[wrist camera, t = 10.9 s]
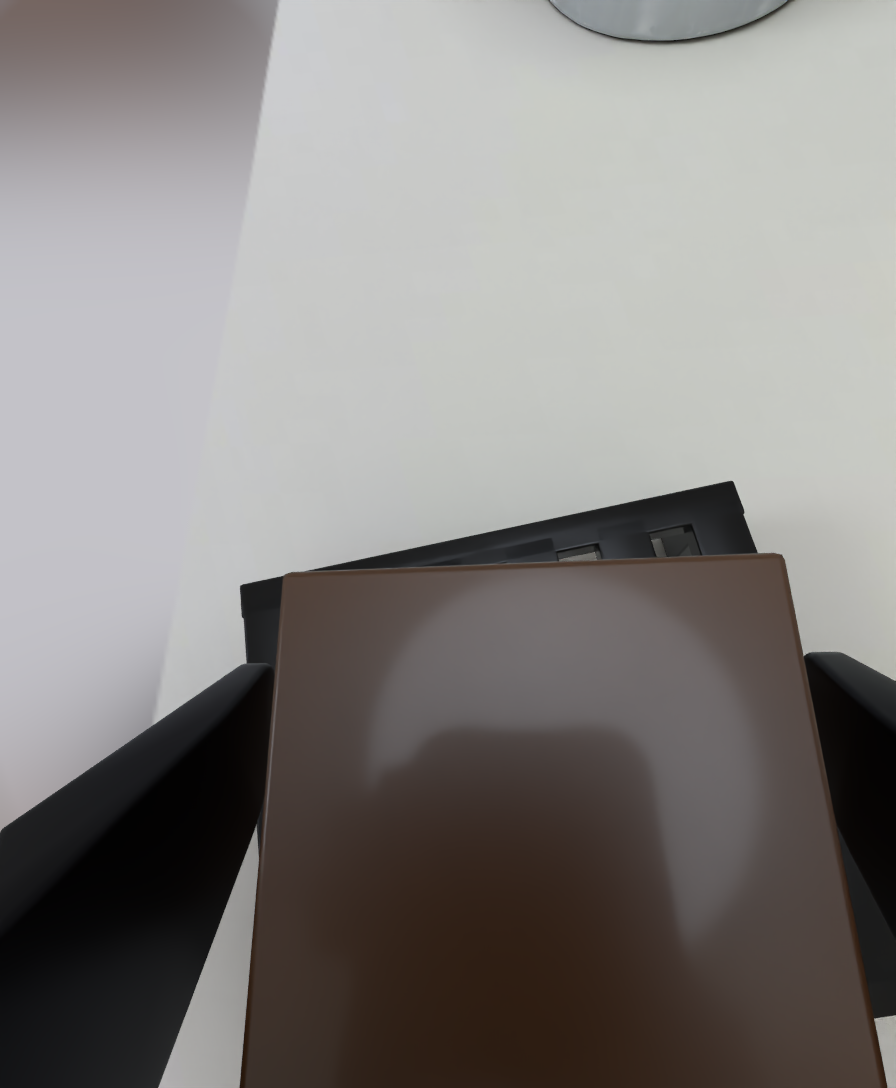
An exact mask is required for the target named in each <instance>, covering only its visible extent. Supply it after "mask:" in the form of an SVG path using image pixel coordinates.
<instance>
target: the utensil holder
mask: <svg viewBox="0 0 896 1088" xmlns="http://www.w3.org/2000/svg"><path fill="white" fill-rule="evenodd" d="M550 1H551V2H552V3H553V5H554V6H556V7H557V8H558V9H559V10H560V11H561V12H562V13H563V14H564V15H566V16H567V17H569V18H570V19H571V20H573V21H574V22H576V23H578V24H580V25H581V26H583V27H586V28H588V29H591V30H594V31H597V32H600V33H603V34H606V35H610V36H614V37H619V38H627V39H638V40H680V39H689V38H695V37H701V36H707V35H712V34H716V33H720V32H724V31H727V30H730V29H733V28H736V27H739V26H742V25H744V24H747V23H749V22H751V21H754V20H756V19H758V18H760V17H762V16H764V15H766V14H768V13H770V12H771V11H773V10H775V9H777V8H778V7H780V6H781V5H783V4H784V3H785V2H787V1H788V0H550Z"/></svg>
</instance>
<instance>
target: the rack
mask: <svg viewBox="0 0 896 1088" xmlns="http://www.w3.org/2000/svg"><path fill="white" fill-rule="evenodd" d="M743 514H744V509H743V506H742V504H741V501H740V498H739V496H738V493H737V490H736V488H735V485H734V482H733V481H727V482H723V483H718V484H713V485H709V486H704V487H699V488H695V489H690V490H685V491H680V492H676V493H671V494H666V495H662V496H657V497H652V498H648V499H643V500H638V501H633V502H629V503H624V504H619V505H615V506H610V507H605V508H600V509H596V510H591V511H586V512H582V513H577V514H572V515H568V516H563V517H558V518H553V519H549V520H544V521H539V522H535V523H530V524H525V525H521V526H516V527H511V528H506V529H502V530H497V531H492V532H488V533H483V534H478V535H474V536H469V537H464V538H459V539H455V540H450V541H445V542H441V543H436V544H431V545H426V546H422V547H417V548H412V549H408V550H403V551H398V552H394V553H389V554H384V555H379V556H375V557H370V558H365V559H361V560H356V561H351V562H347V563H342V564H337V565H332V566H328V567H323V568H318V569H314V570H309V571H332V570H357V569H382V568H407V567H432V566H457V565H482V564H506V563H531V562H556V561H559V559H563V558H568V557H573V556H577V555H582V554H587V553H592V552H595V555H596V558H597V560H606V559H631V558H656V554H655V550H654V547H653V544H652V541H651V540H654V539H659V538H661V539H662V542H663V545H664V548H665V552H666V555H667V557H681V556H706V555H730V554H755V553H758V552H757V550H756V547H755V544H754V542H753V539H752V537H751V534H750V531H749V529H748V526H747V523H746V521H745V518H744V515H743ZM304 572H307V571H304ZM283 578H284V576H281V577H276V578H271V579H267V580H262V581H257V582H253V583H248V584H243V585H241V586H240V594H241V610H242V618H244V628H245V644H246V660H247V664H248V663H267V664H269V665H271V666H272V667H273V669H274V671H275V667H276V655H277V643H278V631H279V619H280V608H281V596H282V584H283ZM263 808H264V801H263V805H262V808H261V812H260V815H259V818H258V821H257V834H258V850H259V855H260V843H261V831H262V820H263ZM836 826H837V825H836ZM837 831H838V836H839V841H840V846H841V851H842V856H843V862H844V867H845V872H846V877H847V882H848V887H849V892H850V898H851V903H852V908H853V913H854V918H855V923H856V928H857V933H858V939H859V944H860V949H861V954H862V959H863V964H864V969H865V975H866V980H867V985H868V990H869V995H870V1000H871V1005H872V1011H873V1016H874V1018H880V1017H886V1016H893V1015H896V941H895V939H894V937H893V935H892V933H891V931H890V929H889V927H888V925H887V923H886V921H885V919H884V917H883V916H882V914H881V912H880V910H879V908H878V906H877V904H876V902H875V900H874V898H873V896H872V894H871V892H870V890H869V888H868V886H867V884H866V882H865V881H864V879H863V877H862V875H861V873H860V871H859V869H858V867H857V865H856V863H855V861H854V859H853V857H852V855H851V853H850V851H849V849H848V847H847V846H846V843H845V841H844V839H843V837H842V835H841V833H840V831H839V829H838V827H837Z"/></svg>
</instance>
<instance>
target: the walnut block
mask: <svg viewBox="0 0 896 1088" xmlns="http://www.w3.org/2000/svg"><path fill="white" fill-rule="evenodd" d="M240 1088H887V1082H886V1077H885V1072H884V1067H883V1062H882V1057H881V1052H880V1046H879V1041H878V1036H877V1031H876V1026H875V1021H874V1016H873V1011H872V1005H871V1000H870V995H869V990H868V985H867V980H866V975H865V969H864V964H863V959H862V954H861V949H860V944H859V939H858V933H857V928H856V923H855V918H854V913H853V908H852V903H851V898H850V892H849V887H848V882H847V877H846V872H845V867H844V862H843V856H842V851H841V846H840V841H839V836H838V831H837V826H836V821H835V815H834V810H833V805H832V800H831V795H830V790H829V785H828V779H827V774H826V769H825V764H824V759H823V754H822V749H821V743H820V738H819V733H818V728H817V723H816V718H815V713H814V708H813V702H812V697H811V692H810V687H809V682H808V677H807V672H806V666H805V661H804V656H803V651H802V646H801V641H800V636H799V631H798V625H797V620H796V615H795V610H794V605H793V600H792V595H791V589H790V584H789V579H788V574H787V569H786V564H785V559H784V558H783V556H782V555H780V554H776V553H755V554H730V555H706V556H681V557H656V558H631V559H606V560H581V561H556V562H531V563H506V564H482V565H457V566H432V567H407V568H382V569H357V570H332V571H307V572H291V573H288V574H285V575H284V578H283V584H282V596H281V608H280V619H279V631H278V643H277V655H276V667H275V678H274V690H273V702H272V714H271V725H270V737H269V749H268V761H267V773H266V784H265V796H264V808H263V820H262V831H261V843H260V855H259V867H258V879H257V890H256V902H255V914H254V926H253V937H252V949H251V961H250V973H249V985H248V996H247V1008H246V1020H245V1032H244V1044H243V1055H242V1067H241V1079H240Z"/></svg>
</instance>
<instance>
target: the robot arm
mask: <svg viewBox="0 0 896 1088" xmlns="http://www.w3.org/2000/svg"><path fill="white" fill-rule="evenodd" d="M804 661H805V666H806V672H807V677H808V682H809V687H810V692H811V697H812V702H813V708H814V713H815V718H816V723H817V728H818V733H819V738H820V743H821V749H822V754H823V759H824V764H825V769H826V774H827V779H828V785H829V790H830V795H831V800H832V805H833V810H834V815H835V821H836V825H837V827H838V829H839V831H840V833H841V835H842V837H843V839H844V841H845V843H846V846H847V847H848V849H849V851H850V853H851V855H852V857H853V859H854V861H855V863H856V865H857V867H858V869H859V871H860V873H861V875H862V877H863V879H864V881H865V882H866V884H867V886H868V888H869V890H870V892H871V894H872V896H873V898H874V900H875V902H876V904H877V906H878V908H879V910H880V912H881V914H882V916H883V917H884V919H885V921H886V923H887V925H888V927H889V929H890V931H891V933H892V935H893V937H894V939H895V941H896V681H894V680H892V679H890V678H888V677H887V676H885V675H883V674H881V673H879V672H877V671H875V670H873V669H872V668H870V667H868V666H866V665H864V664H862V663H860V662H858V661H857V660H855V659H853V658H851V657H849V656H847V655H845V654H843V653H840V652H811V653H808V654H806V655H805V656H804ZM274 678H275V671H274V669H273V667H272V666H271V665H269V664H267V663H248V664H243V665H240V666H239V667H237V668H236V669H234V670H233V671H232V672H230V673H229V674H227V675H226V676H224V677H223V678H221V679H220V680H218V681H217V682H216V683H214V684H213V685H211V686H210V687H208V688H207V689H205V690H204V691H202V692H201V693H199V694H198V695H197V696H195V697H194V698H192V699H191V700H189V701H188V702H186V703H185V704H183V705H182V706H181V707H179V708H178V709H176V710H175V711H173V712H172V713H170V714H169V715H167V716H166V717H165V718H163V719H162V720H160V721H159V722H157V723H156V724H154V725H153V726H151V727H150V728H149V729H147V730H146V731H144V732H143V733H141V734H140V735H138V736H137V737H136V738H134V739H133V740H131V741H130V742H128V743H127V744H125V745H124V746H122V747H121V748H119V749H118V750H116V751H115V752H114V753H112V754H111V755H109V756H108V757H106V758H105V759H103V760H102V761H100V762H99V763H98V764H96V765H95V766H93V767H92V768H90V769H89V770H87V771H86V772H85V773H83V774H82V775H80V776H79V777H77V778H76V779H74V780H73V781H71V782H70V783H68V784H67V785H66V786H64V787H63V788H61V789H60V790H58V791H57V792H55V793H54V794H52V795H51V796H50V797H48V798H47V799H45V800H44V801H42V802H41V803H39V804H38V805H36V806H35V807H33V808H32V809H31V810H29V811H28V812H26V813H25V814H23V815H22V816H20V817H19V818H18V819H16V820H15V821H13V822H12V823H10V824H9V825H7V826H6V827H4V828H3V829H2V830H1V832H0V1088H158V1087H159V1084H160V1082H161V1079H162V1076H163V1074H164V1071H165V1068H166V1065H167V1063H168V1060H169V1057H170V1055H171V1052H172V1049H173V1047H174V1044H175V1041H176V1039H177V1036H178V1033H179V1031H180V1028H181V1025H182V1023H183V1020H184V1017H185V1015H186V1012H187V1009H188V1007H189V1004H190V1001H191V999H192V996H193V993H194V991H195V988H196V985H197V983H198V980H199V977H200V975H201V972H202V969H203V967H204V964H205V961H206V959H207V956H208V953H209V951H210V948H211V945H212V943H213V940H214V937H215V935H216V932H217V929H218V927H219V924H220V921H221V918H222V916H223V913H224V910H225V908H226V905H227V902H228V900H229V897H230V894H231V892H232V889H233V886H234V884H235V881H236V878H237V876H238V873H239V870H240V868H241V865H242V862H243V860H244V857H245V854H246V852H247V849H248V846H249V844H250V841H251V838H252V836H253V833H254V830H255V827H256V824H257V821H258V818H259V815H260V812H261V808H262V805H263V801H264V796H265V784H266V773H267V761H268V749H269V737H270V725H271V714H272V702H273V690H274Z"/></svg>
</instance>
